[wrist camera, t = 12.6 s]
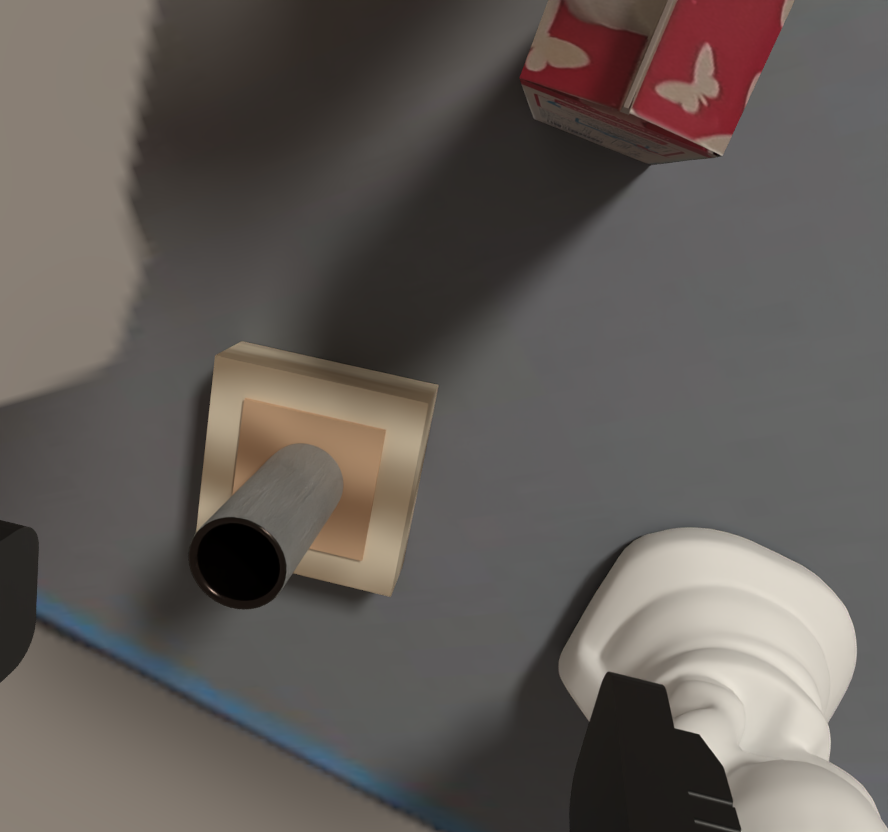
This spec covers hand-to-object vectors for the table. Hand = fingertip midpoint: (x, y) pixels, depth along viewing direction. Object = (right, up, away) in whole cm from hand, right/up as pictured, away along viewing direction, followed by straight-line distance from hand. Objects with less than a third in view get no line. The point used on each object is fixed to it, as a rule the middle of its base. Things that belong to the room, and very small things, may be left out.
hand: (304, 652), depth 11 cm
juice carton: (+11, +21, +30) cm, 38 cm away
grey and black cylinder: (-6, 0, +34) cm, 35 cm away
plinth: (-5, +1, +38) cm, 39 cm away
